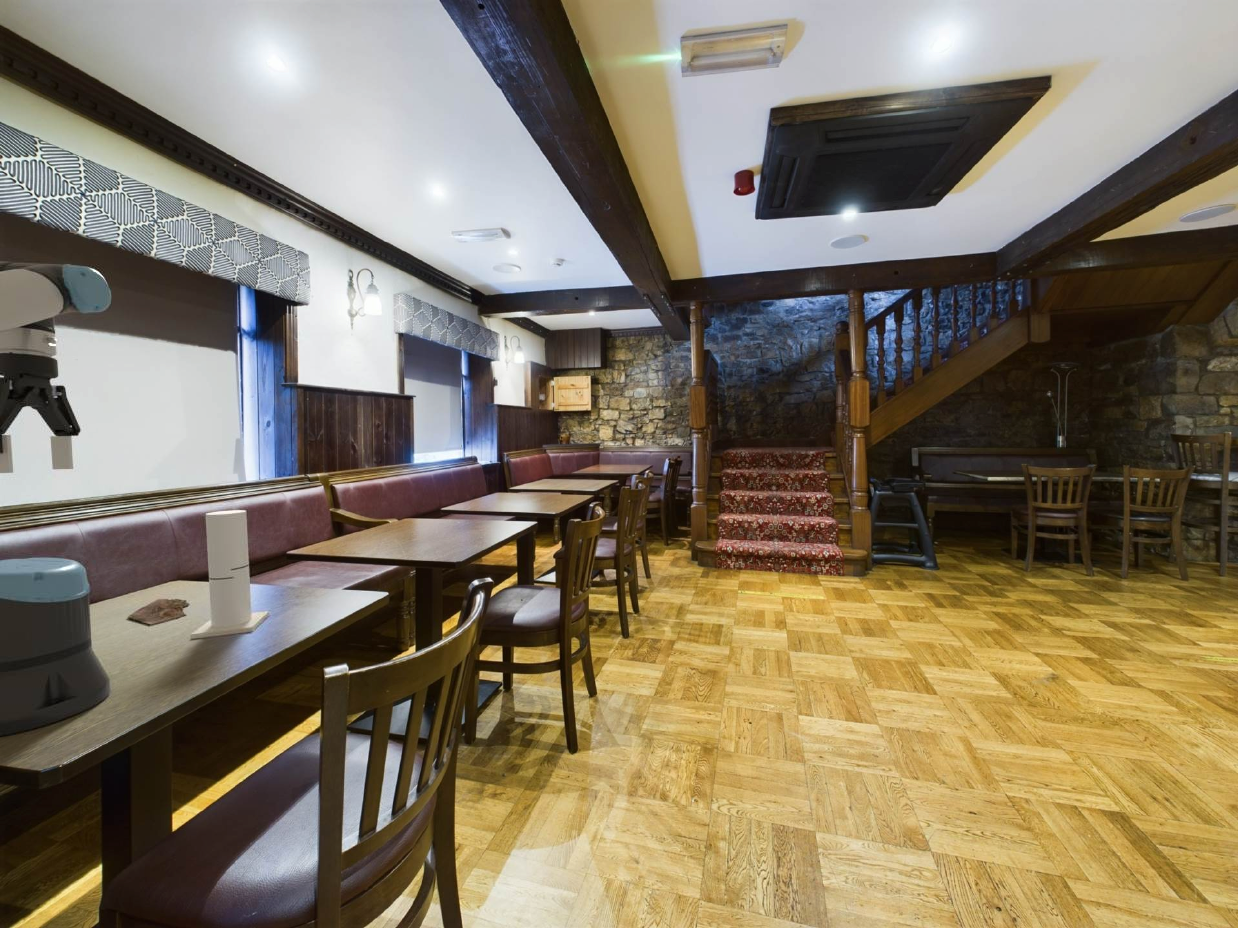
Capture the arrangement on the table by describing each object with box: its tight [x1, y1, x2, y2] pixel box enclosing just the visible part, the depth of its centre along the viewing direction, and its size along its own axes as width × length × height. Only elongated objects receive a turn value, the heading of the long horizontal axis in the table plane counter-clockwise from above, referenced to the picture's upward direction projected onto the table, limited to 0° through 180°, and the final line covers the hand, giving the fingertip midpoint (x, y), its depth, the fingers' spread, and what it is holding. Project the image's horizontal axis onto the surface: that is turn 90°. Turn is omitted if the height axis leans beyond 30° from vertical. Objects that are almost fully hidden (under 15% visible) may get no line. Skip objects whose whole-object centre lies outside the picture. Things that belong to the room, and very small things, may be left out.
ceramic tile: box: [190, 610, 270, 640], centre depth 112 cm, size 11×11×1 cm
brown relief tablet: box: [127, 598, 190, 627], centre depth 123 cm, size 26×11×1 cm, turn 38°
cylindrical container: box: [205, 509, 252, 628], centre depth 111 cm, size 7×7×25 cm
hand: (34, 471), depth 91 cm, fingers open, 13 cm apart
